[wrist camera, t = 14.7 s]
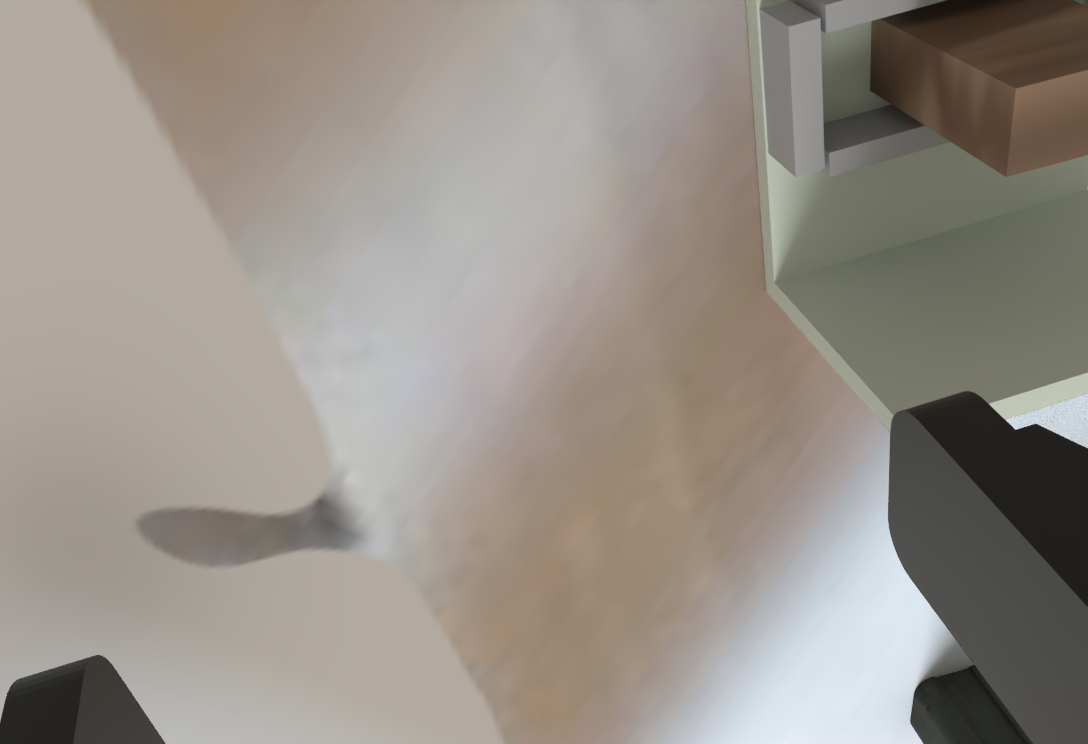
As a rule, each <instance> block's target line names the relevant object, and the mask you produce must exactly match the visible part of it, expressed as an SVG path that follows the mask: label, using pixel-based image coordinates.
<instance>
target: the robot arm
mask: <svg viewBox="0 0 1088 744" xmlns="http://www.w3.org/2000/svg"><path fill="white" fill-rule="evenodd" d="M888 522H889V529H890V534H891V538H892V541H893V544H894V547H895V550H896V552H897V555H898V557H899V559H900V561H901V563H902V565H903V567H904V569H905V571H906V572H907V574H908V575H909V577H910V578H911V580H912V581H913V583H914V584H915V585H916V587H917V588H918V589H919V591H920V592H921V593H922V595H923V596H924V597H925V599H926V600H927V601H928V603H929V604H930V605H931V607H932V608H933V609H934V611H935V612H936V614H937V615H938V616H939V618H940V619H941V620H942V622H943V623H944V624H945V626H946V627H947V628H948V630H949V631H950V632H951V634H952V635H953V636H954V638H955V639H956V641H957V642H958V643H959V645H960V646H961V647H962V649H963V650H964V651H965V653H966V654H967V655H968V657H969V658H970V659H971V661H972V662H973V663H974V665H975V666H976V668H977V669H978V670H979V672H980V673H981V674H982V676H983V677H984V678H985V680H986V681H987V682H988V684H989V685H990V686H991V688H992V689H993V690H994V692H995V693H996V694H997V696H998V697H999V699H1000V700H1001V701H1002V703H1003V704H1004V705H1005V707H1006V708H1007V709H1008V711H1009V712H1010V713H1011V715H1012V716H1013V717H1014V719H1015V720H1016V721H1017V723H1018V724H1019V726H1020V727H1021V728H1022V730H1023V731H1024V732H1025V734H1026V735H1027V736H1028V738H1029V739H1030V740H1031V742H1032V743H1033V744H1088V448H1085V447H1083V446H1081V445H1079V444H1077V443H1075V442H1073V441H1071V440H1069V439H1067V438H1064V437H1062V436H1060V435H1058V434H1056V433H1054V432H1052V431H1050V430H1048V429H1046V428H1044V427H1041V426H1039V425H1037V424H1034V425H1030V426H1027V427H1024V428H1021V429H1018V430H1015V429H1014V428H1013V427H1012V426H1011V425H1010V424H1009V423H1008V422H1007V421H1006V420H1005V419H1004V418H1003V417H1002V416H1001V415H1000V414H999V413H998V412H997V411H995V410H994V409H993V408H992V407H991V406H990V405H989V404H988V403H987V402H986V401H985V400H984V399H983V398H982V397H981V396H979V395H977V394H976V393H974V392H971V391H964V392H960V393H957V394H954V395H951V396H947V397H944V398H941V399H938V400H934V401H931V402H928V403H925V404H921V405H918V406H915V407H912V408H908V409H905V410H902V411H899V412H897V413H896V414H895V415H894V416H893V418H892V422H891V429H890V464H889V502H888ZM0 744H165V742H164V741H163V739H162V738H161V736H160V735H159V733H158V732H157V730H156V729H155V727H154V726H153V724H152V723H151V721H150V720H149V718H148V717H147V716H146V714H145V713H144V711H143V710H142V708H141V707H140V705H139V704H138V702H137V701H136V699H135V698H134V696H133V695H132V693H131V692H130V690H129V689H128V687H127V686H126V684H125V683H124V682H123V680H122V679H121V677H120V676H119V674H118V673H117V671H116V670H115V668H114V667H113V665H112V664H111V663H110V662H109V661H108V660H107V659H106V658H105V657H103V656H100V655H96V656H92V657H89V658H86V659H83V660H79V661H76V662H73V663H69V664H66V665H63V666H60V667H56V668H53V669H50V670H47V671H43V672H40V673H37V674H33V675H31V676H27V677H24V678H20V679H18V680H16V681H15V682H14V683H13V684H12V685H11V687H10V689H9V691H8V693H7V697H6V700H5V704H4V709H3V713H2V717H1V722H0Z"/></svg>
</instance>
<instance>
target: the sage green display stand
mask: <svg viewBox="0 0 1088 744" xmlns="http://www.w3.org/2000/svg"><path fill="white" fill-rule="evenodd" d="M942 1H946V0H746V10H747V24H748V39H749V53H750V67H751V81H752V96H753V110H754V124H755V138H756V153H757V167H758V181H759V195H760V210H761V224H762V238H763V252H764V267H765V281H766V292H767V293H768V294H769V295H770V296H771V297H772V299H773V300H774V301H775V302H776V303H777V304H778V305H779V307H780V308H781V309H782V310H783V311H784V312H785V313H786V315H787V316H788V317H789V318H790V319H791V320H792V321H793V323H794V324H795V325H796V326H797V327H798V328H799V329H800V331H801V332H802V333H803V334H804V335H805V336H806V337H807V339H808V340H809V341H810V342H811V343H812V344H813V345H814V347H815V348H816V349H817V350H818V351H819V352H820V353H821V355H822V356H823V357H824V358H825V359H826V360H827V361H828V363H829V364H830V365H831V366H832V367H833V368H834V369H835V371H836V372H837V373H838V374H839V375H840V376H841V377H842V379H843V380H844V381H845V382H846V383H847V384H848V386H849V387H850V388H851V389H852V390H853V391H854V392H855V394H856V395H857V396H858V397H859V398H860V399H861V400H862V402H863V403H864V404H865V405H866V406H867V407H868V408H869V410H870V411H871V412H872V413H873V414H874V415H875V416H876V418H877V419H878V420H879V421H880V422H881V423H882V424H883V426H884V427H885V428H886V429H887V430H888V431H889V432H890V429H891V422H892V418H893V416H894V415H895V414H896V413H897V412H899V411H902V410H905V409H908V408H912V407H915V406H918V405H921V404H925V403H928V402H931V401H934V400H938V399H941V398H944V397H947V396H951V395H954V394H957V393H960V392H964V391H971V392H974V393H976V394H977V395H979V396H981V397H982V398H983V399H984V400H985V401H986V402H987V403H988V404H989V405H990V406H991V407H992V408H993V409H994V410H995V411H997V412H998V413H999V414H1000V415H1001V416H1002V417H1003V418H1004V419H1005V420H1006V419H1009V418H1012V417H1015V416H1019V415H1022V414H1025V413H1028V412H1031V411H1034V410H1037V409H1041V408H1044V407H1047V406H1050V405H1053V404H1056V403H1060V402H1063V401H1066V400H1069V399H1072V398H1075V397H1078V396H1082V395H1085V394H1088V190H1087V187H1088V155H1087V156H1083V157H1079V158H1075V159H1072V160H1068V161H1064V162H1061V163H1057V164H1053V165H1050V166H1046V167H1042V168H1038V169H1035V170H1031V171H1027V172H1024V173H1020V174H1016V175H1013V176H1009V177H1005V176H1004V175H1002V174H1000V173H999V172H997V171H996V170H994V169H993V168H991V167H989V166H988V165H986V164H985V163H983V162H982V161H980V160H978V159H977V158H975V157H974V156H972V155H971V154H969V153H967V152H966V151H964V150H963V149H961V148H960V147H958V146H956V145H955V144H953V143H952V142H950V141H949V140H947V139H945V138H944V137H942V136H941V135H939V134H938V133H936V132H934V131H933V130H931V129H930V128H928V127H927V126H925V125H923V124H922V123H920V122H919V121H917V120H915V119H914V118H912V117H911V116H909V115H908V114H906V113H904V112H903V111H901V110H900V109H898V108H897V107H895V106H893V105H892V104H890V103H889V102H887V101H886V100H884V99H882V98H881V97H879V96H878V95H876V94H875V93H873V92H871V91H870V65H871V21H873V20H877V19H880V18H884V17H888V16H891V15H895V14H899V13H902V12H906V11H909V10H913V9H917V8H920V7H924V6H928V5H931V4H935V3H938V2H942ZM1073 1H1076V2H1079V3H1082V4H1084V5H1087V6H1088V0H1073Z"/></svg>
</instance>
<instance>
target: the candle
mask: <svg viewBox="0 0 1088 744" xmlns="http://www.w3.org/2000/svg"><path fill="white" fill-rule="evenodd" d="M911 725H912V726H913V728H914V730H915V731H916V733H917V734H918V736H919V737H920V739H921V740H922V742H923V743H924V744H1033V743H1032V742H1031V740H1030V739H1029V738H1028V736H1027V735H1026V734H1025V732H1024V731H1023V730H1022V728H1021V727H1020V726H1019V724H1018V723H1017V721H1016V720H1015V719H1014V717H1013V716H1012V715H1011V713H1010V712H1009V711H1008V709H1007V708H1006V707H1005V705H1004V704H1003V703H1002V701H1001V700H1000V699H999V697H998V696H997V694H996V693H995V692H994V690H993V689H992V688H991V686H990V685H989V684H988V682H987V681H986V680H985V678H984V677H983V676H982V674H981V673H980V672H979V670H978V669H977V668H976V666H971V667H970V668H969V669H967V670H963V671H960V672H956V673H953V674H949V675H946V676H942V677H939V678H935V677H933V678H930V679H928V680H926V681H924V682H923V683H922V684H920V686H919V687H918V688H917V689H916V691H915V695H914V701H913V708H912V714H911Z"/></svg>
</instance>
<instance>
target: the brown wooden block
mask: <svg viewBox="0 0 1088 744" xmlns="http://www.w3.org/2000/svg"><path fill="white" fill-rule="evenodd" d="M870 91H871V92H873V93H875V94H876V95H878V96H879V97H881V98H882V99H884V100H886V101H887V102H889V103H890V104H892V105H893V106H895V107H897V108H898V109H900V110H901V111H903V112H904V113H906V114H908V115H909V116H911V117H912V118H914V119H915V120H917V121H919V122H920V123H922V124H923V125H925V126H927V127H928V128H930V129H931V130H933V131H934V132H936V133H938V134H939V135H941V136H942V137H944V138H945V139H947V140H949V141H950V142H952V143H953V144H955V145H956V146H958V147H960V148H961V149H963V150H964V151H966V152H967V153H969V154H971V155H972V156H974V157H975V158H977V159H978V160H980V161H982V162H983V163H985V164H986V165H988V166H989V167H991V168H993V169H994V170H996V171H997V172H999V173H1000V174H1002V175H1004V176H1005V177H1009V176H1013V175H1016V174H1020V173H1024V172H1027V171H1031V170H1035V169H1038V168H1042V167H1046V166H1050V165H1053V164H1057V163H1061V162H1064V161H1068V160H1072V159H1075V158H1079V157H1083V156H1087V155H1088V6H1087V5H1084V4H1082V3H1079V2H1076V1H1073V0H946V1H942V2H938V3H935V4H931V5H928V6H924V7H920V8H917V9H913V10H909V11H906V12H902V13H899V14H895V15H891V16H888V17H884V18H880V19H877V20H873V21H871V65H870Z"/></svg>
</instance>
